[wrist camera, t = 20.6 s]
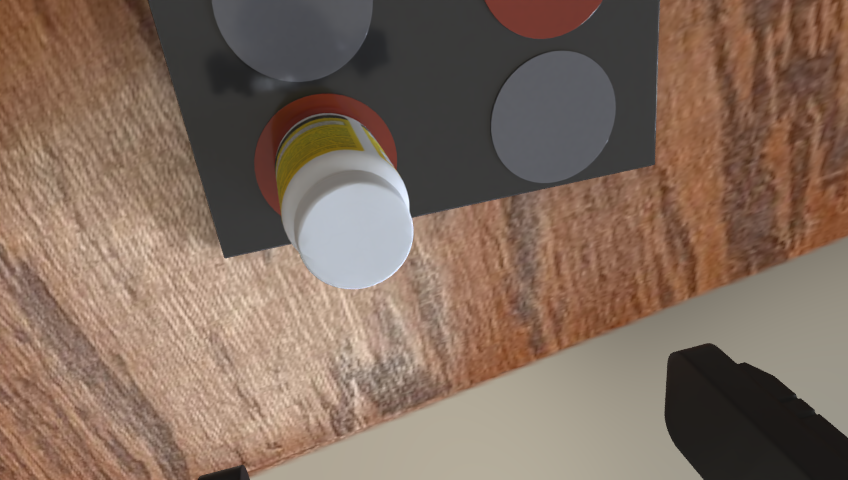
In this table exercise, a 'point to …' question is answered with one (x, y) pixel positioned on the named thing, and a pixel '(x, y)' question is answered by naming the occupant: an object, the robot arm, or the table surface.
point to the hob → (412, 94)
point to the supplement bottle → (342, 202)
